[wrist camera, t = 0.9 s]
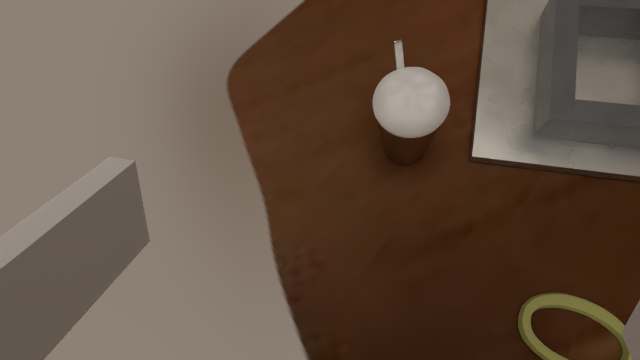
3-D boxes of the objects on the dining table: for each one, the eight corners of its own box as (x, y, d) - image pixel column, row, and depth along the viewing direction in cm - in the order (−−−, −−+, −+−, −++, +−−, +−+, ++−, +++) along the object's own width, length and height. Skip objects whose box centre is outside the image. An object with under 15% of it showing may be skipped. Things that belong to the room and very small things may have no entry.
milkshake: (423, 102, 36) (437, 29, 26) (442, 165, 34) (465, 113, 25) (366, 117, 36) (359, 50, 27) (383, 180, 35) (383, 133, 25)
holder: (734, 14, 34) (787, -29, 30) (742, 194, 31) (803, 176, 27) (485, -1, 37) (499, -43, 33) (469, 161, 34) (481, 139, 30)
